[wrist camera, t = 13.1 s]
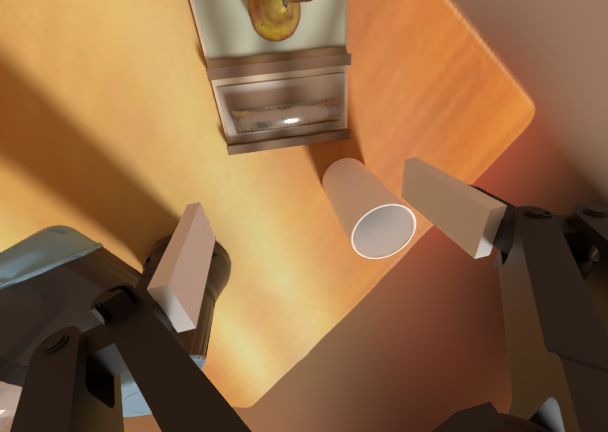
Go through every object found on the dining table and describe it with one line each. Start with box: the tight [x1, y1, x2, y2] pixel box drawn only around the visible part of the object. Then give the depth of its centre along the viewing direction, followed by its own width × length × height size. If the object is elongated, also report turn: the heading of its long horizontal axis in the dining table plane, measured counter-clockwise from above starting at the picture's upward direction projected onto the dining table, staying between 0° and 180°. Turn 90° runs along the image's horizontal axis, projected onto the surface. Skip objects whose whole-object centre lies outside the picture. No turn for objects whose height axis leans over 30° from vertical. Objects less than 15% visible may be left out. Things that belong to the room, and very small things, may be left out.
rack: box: [190, 0, 351, 155], centre depth 31 cm, size 18×20×3 cm
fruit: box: [247, 0, 312, 42], centre depth 23 cm, size 6×6×12 cm
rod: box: [232, 98, 340, 134], centre depth 33 cm, size 14×3×3 cm, turn 95°
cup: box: [322, 158, 416, 259], centre depth 36 cm, size 8×8×16 cm
